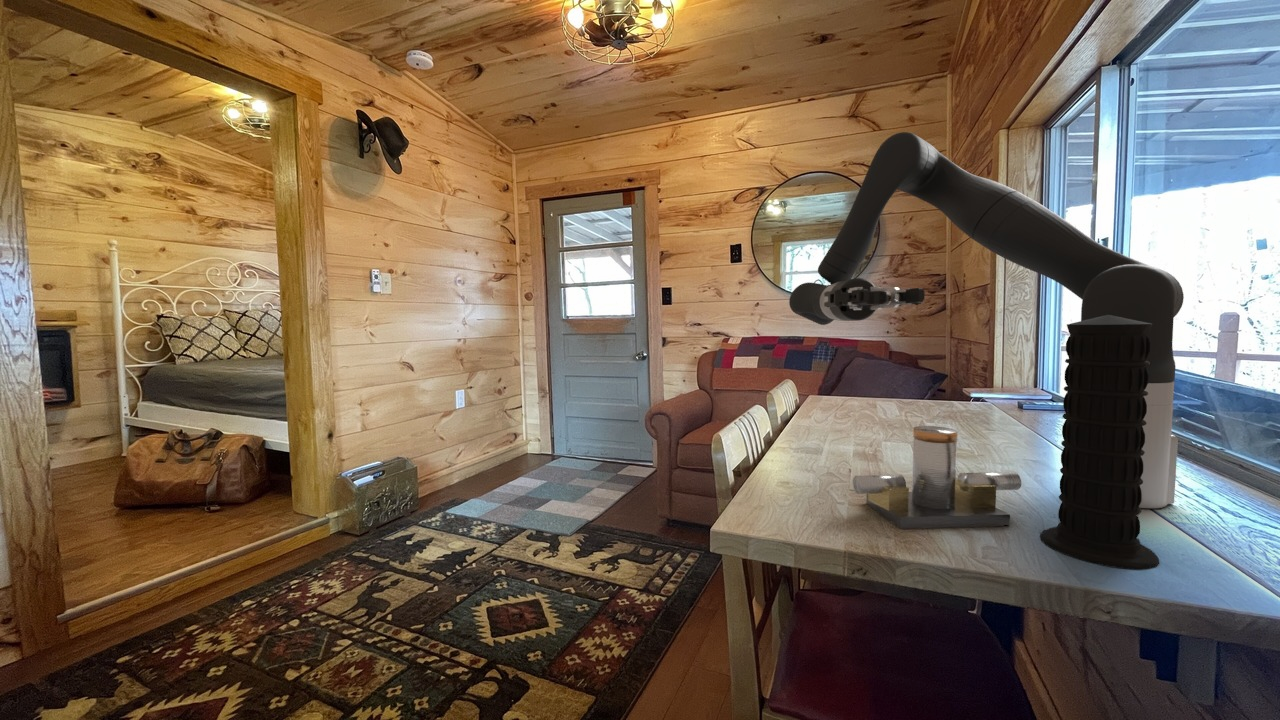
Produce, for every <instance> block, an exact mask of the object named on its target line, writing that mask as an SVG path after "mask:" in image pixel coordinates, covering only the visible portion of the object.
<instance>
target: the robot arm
mask: <svg viewBox="0 0 1280 720" xmlns="http://www.w3.org/2000/svg"><path fill="white" fill-rule="evenodd" d="M896 191H900V192H903V193H906V194H908V195H910V196H912V197H914V198H918V199H919V200H922V201H923V202H926V203H927V204H929V205H931V206H933V207H935V208H936V209H938V210H939V211H941V213H943V215H944V216H945V217H947V219H949V220H950V221H951V222H952V223H953V225H954V226H956V227H957V228H958V229H959V230H960V231H961V232H963V234H965V235H967V236H968V237H969V238H970V239H972V240H973V241H975V242H976V243H977V244H980V245H981V246H983V247H984V248H986V249H987V250H989V251H991V252H992V253H994V254H995V255H997V256H999V257H1001V258H1003V259H1005V260H1007V261H1009V262H1011V263H1014V264H1016V265H1018V266H1020V267H1022V268H1024V269H1027V270H1030V271H1032V272H1034V273H1037V274H1039V275H1041V276H1044V277H1046V278H1048V279H1051V280H1052V281H1055V283H1058V284H1059V285H1061V286H1063V287H1064V288H1066V289H1067V290H1069V291H1070V292H1072V293H1073V294H1074V295H1076V296H1077V297H1078V299H1081V308H1080V309H1081V312H1080V313H1081V314H1080V321H1084V320H1088V319H1092V318H1097V317H1101V316H1105V315H1112V316H1117V317H1122V318H1126V319H1131V320H1136V321H1141V322H1146V323H1151V324H1152V326H1151V329H1150V332H1149V333H1148V334H1147V336H1148V338H1149V341H1150V353H1149V355H1148V357H1147V358H1146V361H1149V362H1150V364H1149V365H1147V366H1145V367H1146V369H1147V372H1148V375H1149V381H1148V385H1147V387H1146V389H1145V390H1144V391H1147V392H1148V395H1147V396H1143V397H1144V398H1145V401H1146V404H1147V413H1146V415H1145V417H1144V419H1143V420H1145V421H1146V423H1147V424H1146V425H1144V426H1142V427H1143V429H1144V433H1145V444H1144V446H1143V448H1142V450H1143V451H1144V452H1145V453H1144V455H1143V456H1141V457H1142V460H1143V474H1142V476H1141V479H1142V480H1143V484H1141V485H1140V488H1141V491H1142V501H1141V503H1140V505H1139V507H1140V508H1141V509H1161V508H1165V507H1167V505H1170V504H1175V496H1176V495H1175V494H1176V493H1175V492H1176V479H1177V477H1176V476H1177V460H1178V459H1177V458H1178V443H1179V438H1178V436H1176V435H1174V434H1172V430H1173V429H1172V427H1173V415H1174V413H1173V412H1174V411H1173V409H1174V394H1175V393H1174V392H1175V381H1176V380H1175V379H1176V361H1175V358H1174V350H1173V348H1174V347H1173V338H1174V336H1173V335H1174V318H1175V317H1176V316H1177V315H1178V314H1179V312H1180V311H1181V310H1182V306H1183V305H1184V298H1185V297H1184V292H1183V291H1184V290H1183V287H1182V285H1181V284H1180V282H1179V280H1178V279H1176V277H1175V276H1174V275H1172V274H1171V273H1169V272H1168V271H1166V270H1164V269H1161V268H1158V267H1155V266H1151V265H1149V264H1146V263H1144V262H1141V261H1139V260H1136V259H1134V258H1132V257H1129V256H1127V255H1124V254H1122V253H1120V252H1119V251H1115V250H1113V249H1111V248H1110V247H1107V246H1106V245H1103V244H1101V243H1099V242H1098V241H1096V240H1094V239H1093V238H1092V237H1090V236H1088V235H1086V234H1085V233H1084V232H1083V231H1082V230H1080V229H1078V228H1077V227H1076V226H1074V225H1073V224H1072V223H1071V222H1069V221H1067V220H1066V219H1064V218H1063V217H1061V216H1060V215H1058V213H1056V212H1054V211H1052V210H1050V209H1049V208H1047V207H1046V206H1044V205H1043V204H1041V203H1039V202H1038V201H1036V200H1034V199H1033V198H1030V197H1029V196H1028V195H1025V194H1023V193H1022V192H1020V191H1018V190H1016V189H1013V188H1011V187H1010V186H1008V185H1005V184H1002V183H1001V182H998V181H995V180H992V179H989V178H986V177H981V176H978V175H975V174H972V173H970V172H968V171H966V170H965V169H963V168H962V167H960V166H959V165H957V164H956V163H954V162H953V161H951V160H950V159H949V158H948V157H946V156H945V155H944V154H942V153H941V152H940V151H939V150H937V148H936V147H934V146H933V145H932V144H931V143H929V142H927V141H926V140H925V139H923V138H921V137H920V136H918V135H916V134H914V133H913V132H910V131H901V132H896V133H895V134H893V135H891V136H889V137H888V138H887V139H885V140H884V141H883V142H882V143H881V144H880V146H879V147H878V149H877V150H876V152H875V154H874V156H873V158H872V160H871V163H870V165H869V168H868V169H867V172H866V174H865V177H864V179H863V182H862V184H861V186H860V188H859V190H858V192H857V195H856V197H855V199H854V202H853V203H852V206H851V208H850V210H849V212H848V215H847V217H846V219H845V222H844V223H843V225H842V227H841V229H840V231H839V232H838V233H837V236H836V238H835V239H834V240H833V242H832V244H831V245H830V248H829V249H828V250H827V252H826V254H825V256H824V257H823V258H822V260H821V262H820V264H819V265H818V266H817V267H818V268H817V273H818V275H819V276H820V277H821V278H822V279H824V280H825V281H826V282H828V283H829V284H828V285H826V284H821V283H818V282H817V283H816V282H804V283H801V284H799V285H798V286H796V287H795V288H794V289H793V291H791V293H790V296H789V299H788V300H789V301H788V304H789V307H790V309H791V311H792V312H793V313H794V314H795V315H798V316H800V317H803V318H805V319H807V320H809V321H812V322H813V323H815V324H817V325H820V326H826V325H829V324H831V323H832V322H834V321H837V322H838V321H839V322H850V321H851V322H852V321H853V322H855V321H858V322H859V321H864V320H867V319H868V318H870V317H871V316H872V315H873V314H874V313H875V312H876V311H880V310H882V309H894V308H895V309H896V308H899V307H902V306H912V305H915V306H919V305H921V304H922V303H923V302H924V301H925V290H924V288H923V287H917V288H916V287H915V288H910V287H907V288H905V289H904V288H902V289H900V288H899V287H897V286H889V287H887V286H886V287H882V286H875V284H874V283H872V282H871V281H870V280H868V279H866V278H861V277H856V278H853V277H854V275H855V273H856V272H857V270H858V269H859V267H860V266H861V265H862V263H863V262H864V260H865V258H866V256H867V255H868V253H869V250H870V248H871V245H872V243H873V241H874V237H875V233H876V230H877V225H878V223H879V219H880V218H881V215H882V213H883V211H884V209H885V207H886V205H887V203H888V201H890V199H891V198H892V196H893V195H894V194H895V193H896ZM889 292H890V293H889Z"/></svg>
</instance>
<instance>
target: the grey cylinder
mask: <svg viewBox="0 0 1280 720" xmlns="http://www.w3.org/2000/svg"><path fill="white" fill-rule="evenodd" d="M912 429H913V430H912V433H913V434H912V435H913V436H912V438H913V439H912V440H913V442H912V443H913V445H912V446H913V447H912V450H913V451H912V477H911V478H912V480H911V481H912V483H911V485H912V487H911V492H912V501H913V502H914V503H916V504H918V505H920V506H923V507H927V508H932V509H952V508H954V507H955V482H956V477H957V470H956V469H957V445H958V433H959V432H958V430H957V429H954V428H951V427H946V426H945V427H944V426H938V425H936V426H934V425H918V426H913V428H912Z"/></svg>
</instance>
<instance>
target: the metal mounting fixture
mask: <svg viewBox="0 0 1280 720" xmlns="http://www.w3.org/2000/svg"><path fill="white" fill-rule="evenodd" d="M852 483H853V489H854V492H855V493H856V494H858V495H864V494H865V495H866V499H865V501H866V505H868V506H869V507H871V509H873V510H875V511H876V512H878V513H879V514H880V515H882V516H883V517H884V518H885V519H886V520H888V521H889V522H890V523H892V524H893V525H894V526H896V527H897V528H898V529H901V530H905V529H906V530H908V529H911V530H912V529H913V530H914V529H915V530H916V529H944V528H945V529H946V528H947V529H948V528H949V529H950V528H951V529H952V528H979V527H980V528H981V527H982V528H983V527H1005V526H1004V525H1011V524H1010V523H1011V514H1010V513H1008V512H1007V511H1004V510H1002V509H1000V508H998V507H996V506H997V505H996V502H997V498H996V497H997V491H1017V490H1019V489H1021V487H1022V479H1021V476H1020V474H1019V473H1017V472H1015V471H992V472H991V471H987V472H986V471H985V472H983V471H982V472H960V473H959V474H958V476H956V482H955V507H954V508H952V509H932V508H927V507H923V506H920V505H918V504H916V503H914V502H913V501H912V491H909V489H910V488H909V486H907V482H906V479H905V477H904V475H902V474H869V475H866V474H863V475H862V474H860V475H859V474H858V475H854V477H853V480H852Z"/></svg>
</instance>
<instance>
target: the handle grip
mask: <svg viewBox="0 0 1280 720" xmlns="http://www.w3.org/2000/svg"><path fill="white" fill-rule="evenodd" d="M1151 326H1152V324H1151V323H1146V322H1141V321H1136V320H1131V319H1126V318H1122V317H1117V316H1112V315H1105V316H1101V317H1097V318H1092V319H1088V320H1084V321H1081V320H1080V321H1077V322H1071V323H1068V324H1066V327H1067V330H1068V332H1069V336H1068V337H1067V341H1066V342H1065V352H1066V355H1067V357H1068V358H1066V359H1065V360H1064V362H1065V363H1067V364H1068V365H1067V366H1066V367H1065V370H1064V381H1065V385H1066V386H1064V387H1063V390H1064V391H1065V392H1066V394H1065V395H1064V398H1063V410H1064V414H1062V418H1063V419H1064V423H1063V425H1062V428H1061V435H1062V438H1063V440H1062V441H1061V443H1060V444H1061V446H1062V447H1063V450H1062V451H1061V454H1060V463H1061V468H1060V469H1059V471H1060V473H1061V474H1062V475H1061V477H1060V480H1059V490H1060V494H1059V495H1058V499H1059V501H1060V506H1059V507H1058V512H1057V514H1058V515H1057V516H1058V520H1059V523H1058V524H1057V525H1056V526H1054V527H1049V528H1047V529H1044V530H1043V531H1042V532H1041V533H1040V535H1039V538H1040V537H1041V539H1040V540H1041V542H1042V543H1043V544H1044V545H1046V546H1047V545H1048V546H1047V547H1049V548H1050V549H1052V550H1055V551H1057V552H1059V553H1061V554H1063V555H1066V556H1069V557H1071V558H1074V559H1077V560H1081V561H1084V562H1087V563H1091V564H1094V565H1101V566H1105V567H1111V568H1117V569H1123V570H1150V569H1153V568H1157V567H1158V566H1159V565H1160V564H1161V561H1160V559H1159V557H1158V556H1157V554H1156V553H1155V552H1154V551H1153V550H1152V549H1150V548H1149V547H1147V546H1146V545H1143V544H1142V543H1141V542H1140V541H1141V540H1140V539H1139V538H1138V537H1139V535H1140V534H1141V522H1140V519H1139V516H1138V515H1140V514H1141V513H1142V508H1140V507H1139V505H1140V503H1141V501H1142V491H1141V488H1140V485H1141V484H1143V480H1142V479H1141V476H1142V474H1143V460H1142V457H1141V456H1143V455H1144V453H1145V452H1144V451H1143V450H1142V448H1143V446H1144V444H1145V433H1144V429H1143V427H1142V426H1144V425H1146V424H1147V423H1146V421H1145V420H1143V419H1144V417H1145V415H1146V413H1147V404H1146V401H1145V398H1144V397H1143V396H1147V395H1148V392H1147V391H1144V390H1145V389H1146V387H1147V385H1148V381H1149V375H1148V372H1147V369H1146V367H1145V366H1147V365H1149V364H1150V362H1149V361H1146V358H1147V357H1148V355H1149V353H1150V341H1149V338H1148V336H1147V334H1148V333H1149V332H1150V329H1151Z"/></svg>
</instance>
